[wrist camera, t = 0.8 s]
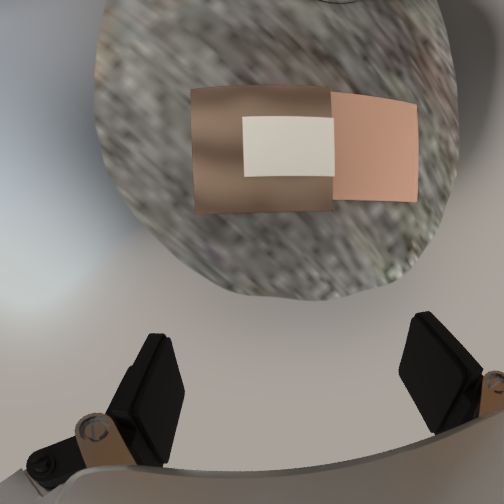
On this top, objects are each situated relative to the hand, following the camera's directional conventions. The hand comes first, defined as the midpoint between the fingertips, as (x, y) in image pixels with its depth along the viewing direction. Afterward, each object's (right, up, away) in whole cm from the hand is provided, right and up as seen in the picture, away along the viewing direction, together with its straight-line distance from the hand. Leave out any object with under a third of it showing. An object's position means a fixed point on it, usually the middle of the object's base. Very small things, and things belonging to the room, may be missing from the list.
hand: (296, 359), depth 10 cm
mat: (+13, +17, +21) cm, 30 cm away
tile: (+2, +15, +19) cm, 24 cm away
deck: (-1, +16, +21) cm, 26 cm away
